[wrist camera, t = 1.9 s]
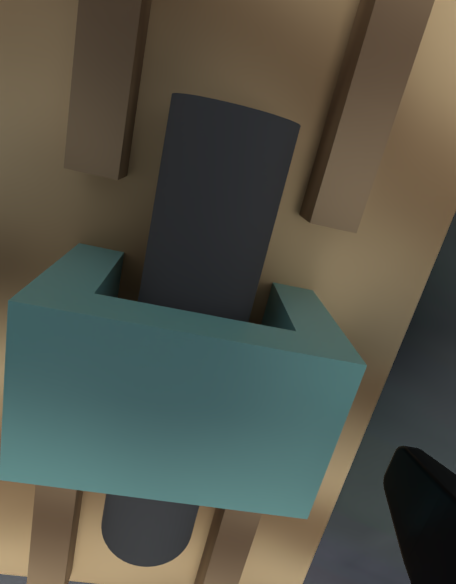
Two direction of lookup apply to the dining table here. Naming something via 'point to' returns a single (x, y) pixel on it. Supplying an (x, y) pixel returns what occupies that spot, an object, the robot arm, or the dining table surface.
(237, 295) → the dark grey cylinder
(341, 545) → the dining table surface
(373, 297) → the board
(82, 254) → the teal notched block
